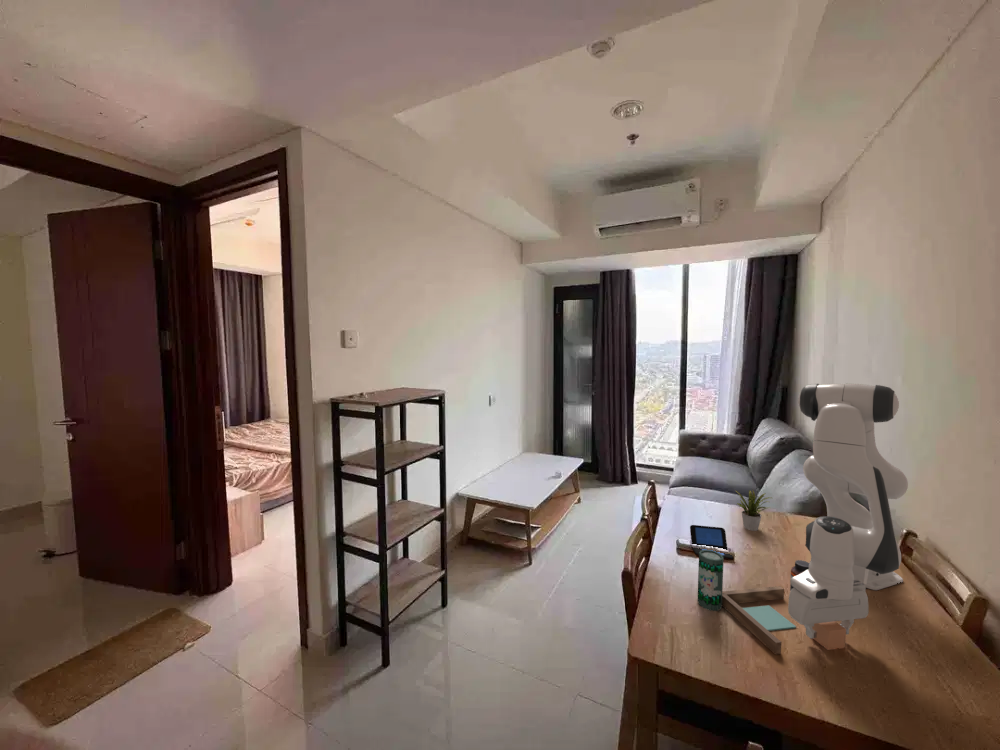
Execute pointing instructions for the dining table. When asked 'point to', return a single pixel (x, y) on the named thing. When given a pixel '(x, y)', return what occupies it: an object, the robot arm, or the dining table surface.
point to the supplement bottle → (798, 569)
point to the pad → (769, 618)
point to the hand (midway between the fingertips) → (827, 634)
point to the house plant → (751, 511)
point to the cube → (830, 635)
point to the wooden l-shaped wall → (747, 620)
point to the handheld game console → (709, 538)
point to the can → (710, 580)
